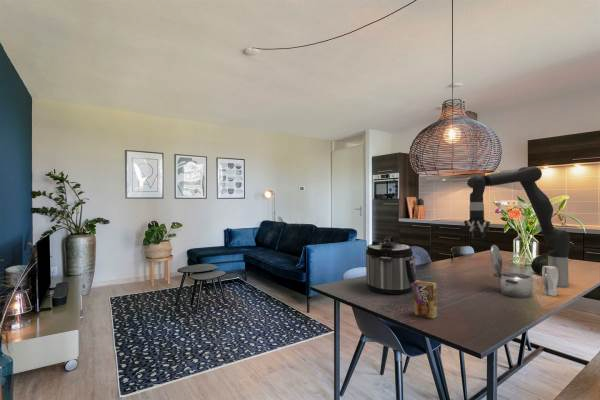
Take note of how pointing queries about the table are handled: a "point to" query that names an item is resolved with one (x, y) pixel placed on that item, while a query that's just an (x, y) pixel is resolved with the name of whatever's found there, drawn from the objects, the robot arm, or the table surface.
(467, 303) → the table surface
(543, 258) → the squash
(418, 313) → the candy box
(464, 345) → the table surface
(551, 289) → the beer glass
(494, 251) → the lid
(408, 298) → the table surface
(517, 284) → the pot
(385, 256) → the pressure cooker
